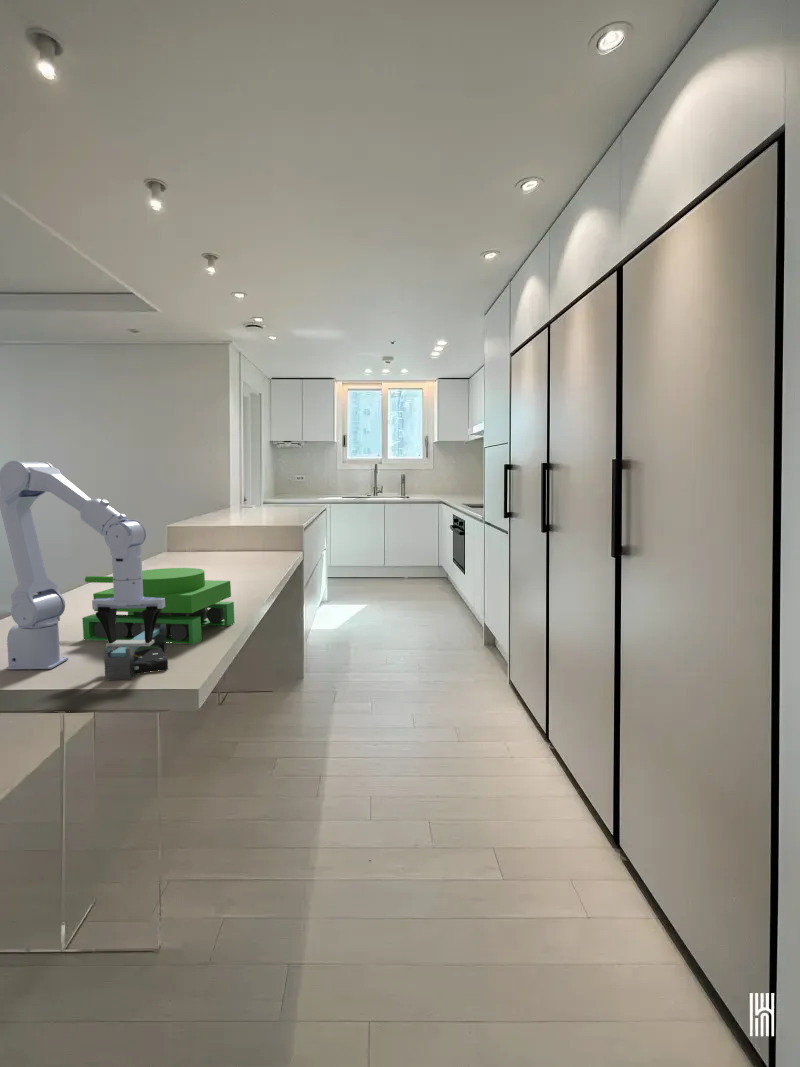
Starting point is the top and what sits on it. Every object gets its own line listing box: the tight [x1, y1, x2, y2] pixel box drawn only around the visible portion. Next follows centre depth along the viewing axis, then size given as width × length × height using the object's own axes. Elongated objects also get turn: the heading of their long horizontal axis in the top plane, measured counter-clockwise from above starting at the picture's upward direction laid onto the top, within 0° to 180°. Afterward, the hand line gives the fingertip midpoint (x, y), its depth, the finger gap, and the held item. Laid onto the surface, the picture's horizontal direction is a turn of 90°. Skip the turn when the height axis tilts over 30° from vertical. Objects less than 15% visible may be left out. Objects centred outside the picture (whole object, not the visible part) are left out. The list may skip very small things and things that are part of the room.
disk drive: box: [113, 644, 169, 675], centre depth 145 cm, size 10×3×15 cm
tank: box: [81, 567, 235, 645], centre depth 175 cm, size 24×35×16 cm
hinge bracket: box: [141, 623, 168, 653], centre depth 154 cm, size 5×2×7 cm, turn 91°
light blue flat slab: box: [105, 628, 161, 657], centre depth 144 cm, size 9×21×2 cm, turn 1°
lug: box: [103, 646, 136, 681], centre depth 135 cm, size 5×2×6 cm, turn 91°
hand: (130, 642), depth 140 cm, fingers open, 7 cm apart
